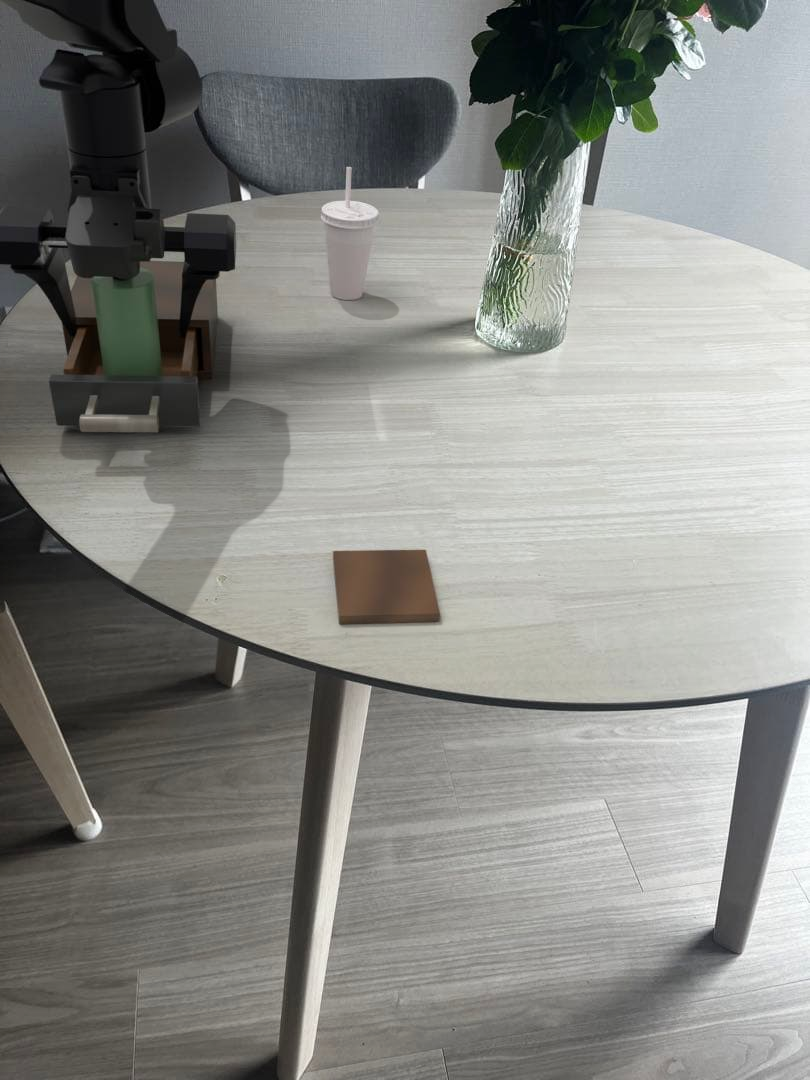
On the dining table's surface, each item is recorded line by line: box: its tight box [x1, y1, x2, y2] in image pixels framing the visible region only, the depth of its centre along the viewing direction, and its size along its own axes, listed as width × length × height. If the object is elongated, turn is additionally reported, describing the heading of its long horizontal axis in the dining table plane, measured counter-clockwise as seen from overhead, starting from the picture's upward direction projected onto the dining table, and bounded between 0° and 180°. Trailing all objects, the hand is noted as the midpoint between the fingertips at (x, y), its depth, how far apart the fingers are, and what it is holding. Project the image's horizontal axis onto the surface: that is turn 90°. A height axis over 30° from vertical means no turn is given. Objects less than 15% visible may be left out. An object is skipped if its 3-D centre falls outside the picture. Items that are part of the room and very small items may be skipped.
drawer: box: [48, 325, 201, 433], centre depth 79 cm, size 17×12×4 cm
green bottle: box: [91, 267, 163, 376], centre depth 77 cm, size 5×5×11 cm
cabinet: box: [61, 260, 219, 380], centre depth 89 cm, size 14×13×6 cm
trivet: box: [332, 549, 441, 625], centre depth 65 cm, size 7×7×1 cm
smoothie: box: [320, 166, 380, 301], centre depth 100 cm, size 6×6×14 cm
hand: (129, 336), depth 78 cm, fingers open, 9 cm apart
